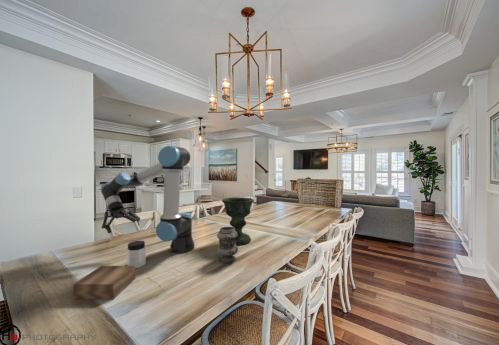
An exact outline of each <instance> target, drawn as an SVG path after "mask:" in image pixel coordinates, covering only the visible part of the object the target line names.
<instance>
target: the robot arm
mask: <svg viewBox="0 0 499 345" xmlns="http://www.w3.org/2000/svg"><path fill="white" fill-rule="evenodd" d="M157 158H158V159H157V160H158V163H156V164H154V165H152V166H149V167H148V168H146V169H144V170H141V171H139V172H137V173H135V174H132V175H130V174H128V173H127V172H123V171H122V172H119V173H118V174H117V175H116V176H114V178H113V179H111V181H109V182H105V183H103V184H102V185H100V191H101V194H102V197H103V199H104V202H105V204H106V207H107V209H108V211H105V212H104V214H103V216H104V218H103V221H102V225H101V229H105V231H107V233H108V234H110V237H111V239H112V240H113V239H115V237H116V234H115V231H114V228H113V226H112V225H111V224H112V223H113V222H114V220H115V219H121V218H122V219H123V218H124V219H127V220H129V221H130V222H132V223H133V226H134V228H135V230H136V233H139V232H140V231H141V227H140V226H141V225H140V223H139V222H140V221H141V217H140V216H138V215H137V214H136V213H135V212H133V211H132V209H131V208H130V207H129V208H127V209H125V208H124V204H123V202H122V200H121V198H120V195H119V193H120V192H121V191H122V190H123V189H125V188H133V187H134V188H135V187H140V186H143V185H144V183H147V182H149V181H151V180H153V179H155V178H157V177H160V176H162V175H164V176H163V177H164V180H163V182H164V183H163V210H162V214H161V215H160V216H159V218H160V219H159V220H160V221H159V223H158V224H157V225H156V227H155V233H156V234H155V235H156V236H157V237H158V238H159V240H161V241H162V242H170V246H169V249H170V252H172V253H176V254H181V253H183V254H184V253H187V252H192V251H193V250H195V246H196V245H195V242H194V238H193V232H192V230H193V225H192V224H193V217H192V213H190V212H180V194H181V193H180V191H181V189H180V188H181V173H182V172H183V171H184V167H185V166H187V165H188V164H189V163H190V161H191V154H190V152H189V150H187V149H186V148H184V147H179V146H176V145H166V146H164V147H162V148H161V149H160V150H159V152H158V156H157ZM109 216H111V218H110V220H109V221H108V217H109ZM107 221H108V222H107Z"/></svg>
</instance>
